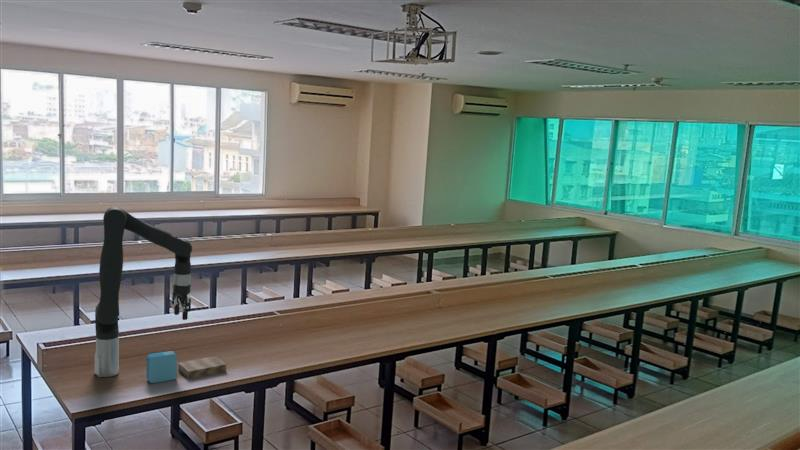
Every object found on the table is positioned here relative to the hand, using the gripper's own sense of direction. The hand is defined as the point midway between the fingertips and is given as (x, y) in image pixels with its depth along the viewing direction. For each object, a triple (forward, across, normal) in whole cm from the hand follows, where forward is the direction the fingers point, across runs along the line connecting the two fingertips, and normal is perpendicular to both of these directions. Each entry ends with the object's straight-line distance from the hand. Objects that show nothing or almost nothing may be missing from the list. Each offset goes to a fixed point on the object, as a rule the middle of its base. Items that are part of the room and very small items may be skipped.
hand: (180, 317), depth 298 cm
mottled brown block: (+25, +9, +7) cm, 27 cm away
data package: (+25, +9, -12) cm, 29 cm away
